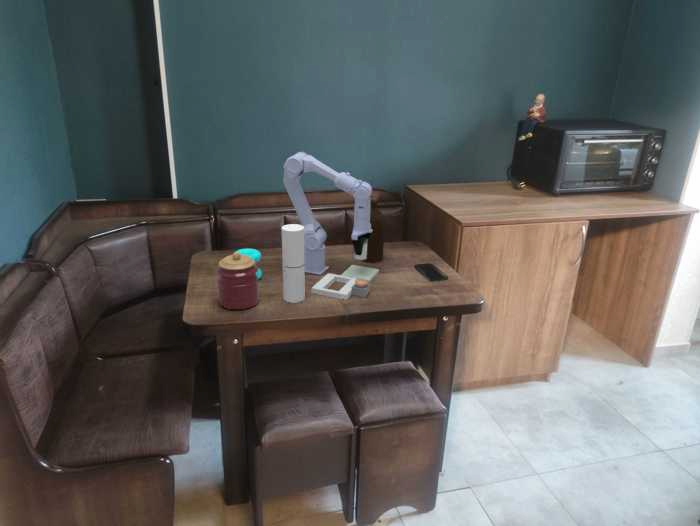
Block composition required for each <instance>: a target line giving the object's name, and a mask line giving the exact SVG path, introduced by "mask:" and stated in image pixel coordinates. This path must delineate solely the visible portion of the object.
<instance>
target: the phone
mask: <svg viewBox="0 0 700 526" xmlns="http://www.w3.org/2000/svg"><path fill="white" fill-rule="evenodd" d="M413 268H414V269H415V270H416V271H417V272H418V273H420V275H422V276H423V278H424V279H426V280H427V281H428V282H432V283H433V282H441V281H448V279H449V277H448V275H446V274H445V273H444V272H443V271H441V270H440V268H438V267H437V266H435V265H434V264H433V263H430V262H428V263H426V262H425V263H419V264H414V265H413Z"/></svg>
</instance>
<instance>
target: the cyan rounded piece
mask: <svg viewBox="0 0 700 526" xmlns="http://www.w3.org/2000/svg"><path fill="white" fill-rule="evenodd" d="M235 252H239V253H240V254H243V255H247V256H249V257H251V258H253V259H254V260H255V264H256V263H258V262H259V261H261V258H262V253H261V251H259V250H257V249H255V248H240V249H238V250H236V251H235ZM256 273H257V276H258V280H260V279H261V277H262V276H263V272H262V270H261V269H260V268H258V271H257V272H256Z"/></svg>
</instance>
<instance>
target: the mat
mask: <svg viewBox="0 0 700 526" xmlns="http://www.w3.org/2000/svg"><path fill="white" fill-rule="evenodd" d="M377 273H378V274H379V273H380V269H378V268H373V267H368V266H361V265H355V264H351V265H350V266H349V267H348V268H347V269H345V271H343V273H342V274H340V275H341V276H346V277H351V278H357V279H366V280H367V281H368V284H370V282H371V281H372V280H373V279H374V278H375V277H376V276H377V275H378V274H377Z"/></svg>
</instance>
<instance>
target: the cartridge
mask: <svg viewBox="0 0 700 526" xmlns="http://www.w3.org/2000/svg"><path fill="white" fill-rule="evenodd" d="M362 238H365V237H362ZM367 242H368V239H367V238H366V240H365V242H364V245H363V250H362V254H361V255H355V254H354V259H355V260H358V261H361V260H365V259H367Z"/></svg>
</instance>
